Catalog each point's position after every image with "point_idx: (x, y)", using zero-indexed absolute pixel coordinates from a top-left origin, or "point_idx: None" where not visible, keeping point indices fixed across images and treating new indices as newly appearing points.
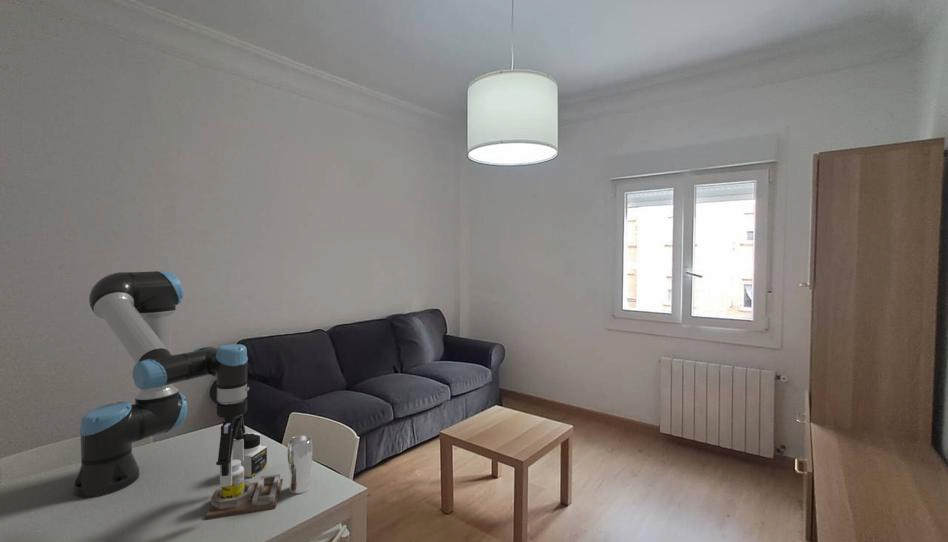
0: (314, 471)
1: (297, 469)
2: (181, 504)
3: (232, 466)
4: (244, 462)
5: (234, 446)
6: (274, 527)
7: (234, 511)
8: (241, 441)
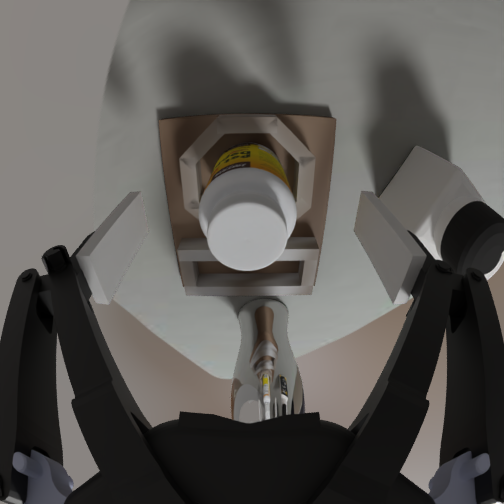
0: (331, 329)
1: (235, 365)
2: (277, 17)
3: (208, 243)
4: (415, 199)
5: (393, 242)
6: None
7: (167, 196)
8: (392, 293)
